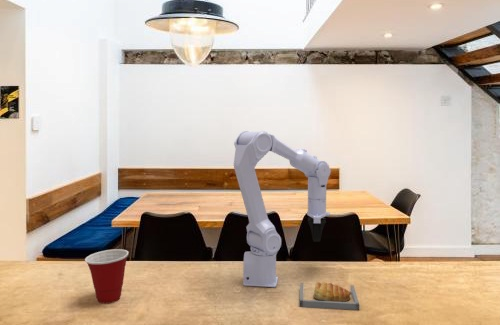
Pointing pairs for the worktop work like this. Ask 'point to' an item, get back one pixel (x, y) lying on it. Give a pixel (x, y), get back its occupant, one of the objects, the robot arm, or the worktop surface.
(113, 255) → the plastic cup
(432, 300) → the worktop surface
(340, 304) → the grey u-shaped bracket
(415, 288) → the worktop surface
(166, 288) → the worktop surface
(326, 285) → the pastry
